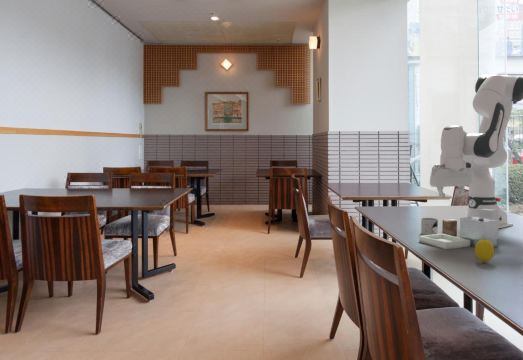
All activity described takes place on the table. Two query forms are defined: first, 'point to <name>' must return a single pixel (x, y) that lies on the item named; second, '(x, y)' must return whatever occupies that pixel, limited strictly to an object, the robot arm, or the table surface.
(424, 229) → the mug
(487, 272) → the table surface
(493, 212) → the skincare box
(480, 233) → the block
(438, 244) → the tray
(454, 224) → the block
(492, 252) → the lemon
